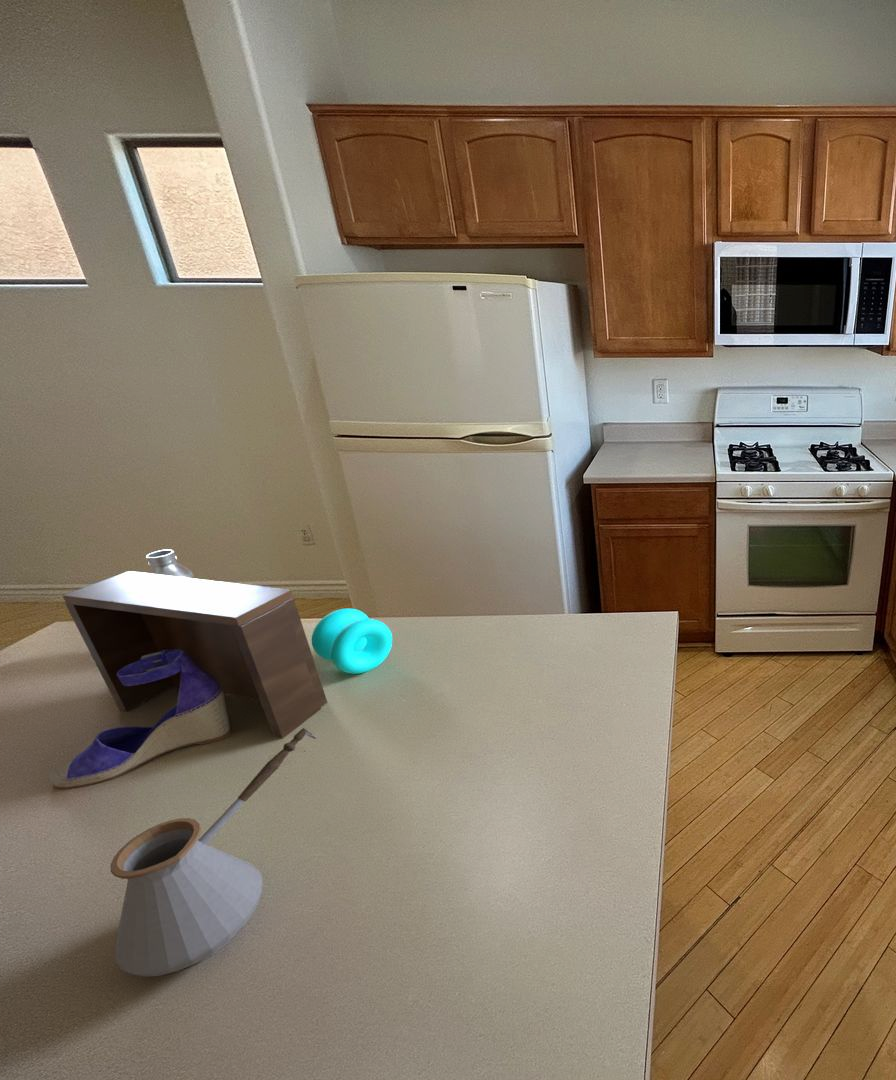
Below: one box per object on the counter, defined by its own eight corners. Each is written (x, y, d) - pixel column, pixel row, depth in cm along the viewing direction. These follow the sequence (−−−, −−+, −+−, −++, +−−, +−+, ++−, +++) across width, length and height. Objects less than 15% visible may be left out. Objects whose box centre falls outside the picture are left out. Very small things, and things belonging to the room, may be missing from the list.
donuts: (344, 686, 96) (329, 637, 93) (316, 667, 101) (301, 620, 98) (400, 658, 104) (389, 612, 100) (372, 642, 109) (360, 598, 105)
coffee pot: (170, 1013, 52) (103, 906, 46) (100, 964, 55) (30, 860, 50) (373, 829, 70) (344, 737, 64) (311, 802, 74) (278, 712, 68)
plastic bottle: (175, 661, 102) (133, 564, 95) (176, 646, 107) (136, 552, 99) (221, 649, 106) (183, 554, 99) (220, 634, 111) (184, 543, 103)
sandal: (76, 755, 81) (28, 670, 75) (243, 719, 88) (211, 640, 83) (40, 796, 74) (-15, 707, 68) (224, 754, 81) (188, 670, 76)
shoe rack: (119, 710, 90) (60, 595, 82) (176, 678, 98) (127, 570, 90) (282, 738, 85) (237, 618, 76) (329, 702, 92) (292, 589, 84)
